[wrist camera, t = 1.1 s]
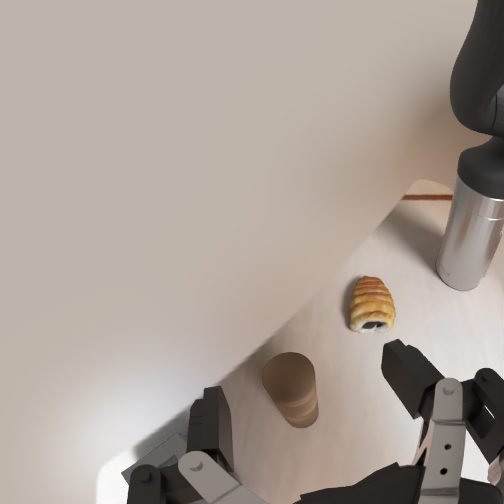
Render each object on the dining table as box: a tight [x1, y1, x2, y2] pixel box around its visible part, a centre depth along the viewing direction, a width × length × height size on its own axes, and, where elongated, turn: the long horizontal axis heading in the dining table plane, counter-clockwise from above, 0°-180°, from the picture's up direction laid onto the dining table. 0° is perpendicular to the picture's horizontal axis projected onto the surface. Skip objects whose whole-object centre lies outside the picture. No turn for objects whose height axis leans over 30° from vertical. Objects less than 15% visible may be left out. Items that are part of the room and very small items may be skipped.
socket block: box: [121, 433, 209, 504], centre depth 21 cm, size 10×10×5 cm
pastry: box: [349, 276, 395, 333], centre depth 35 cm, size 9×7×4 cm
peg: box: [262, 352, 318, 428], centre depth 23 cm, size 4×4×14 cm
